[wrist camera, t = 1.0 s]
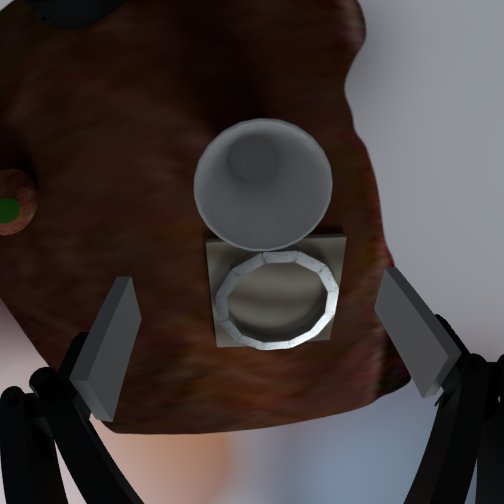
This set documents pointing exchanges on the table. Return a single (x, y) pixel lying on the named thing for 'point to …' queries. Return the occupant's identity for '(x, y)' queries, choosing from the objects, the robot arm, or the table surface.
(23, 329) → the table surface
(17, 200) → the fruit
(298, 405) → the table surface
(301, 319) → the board
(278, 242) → the cup
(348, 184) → the table surface
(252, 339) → the ring collar
